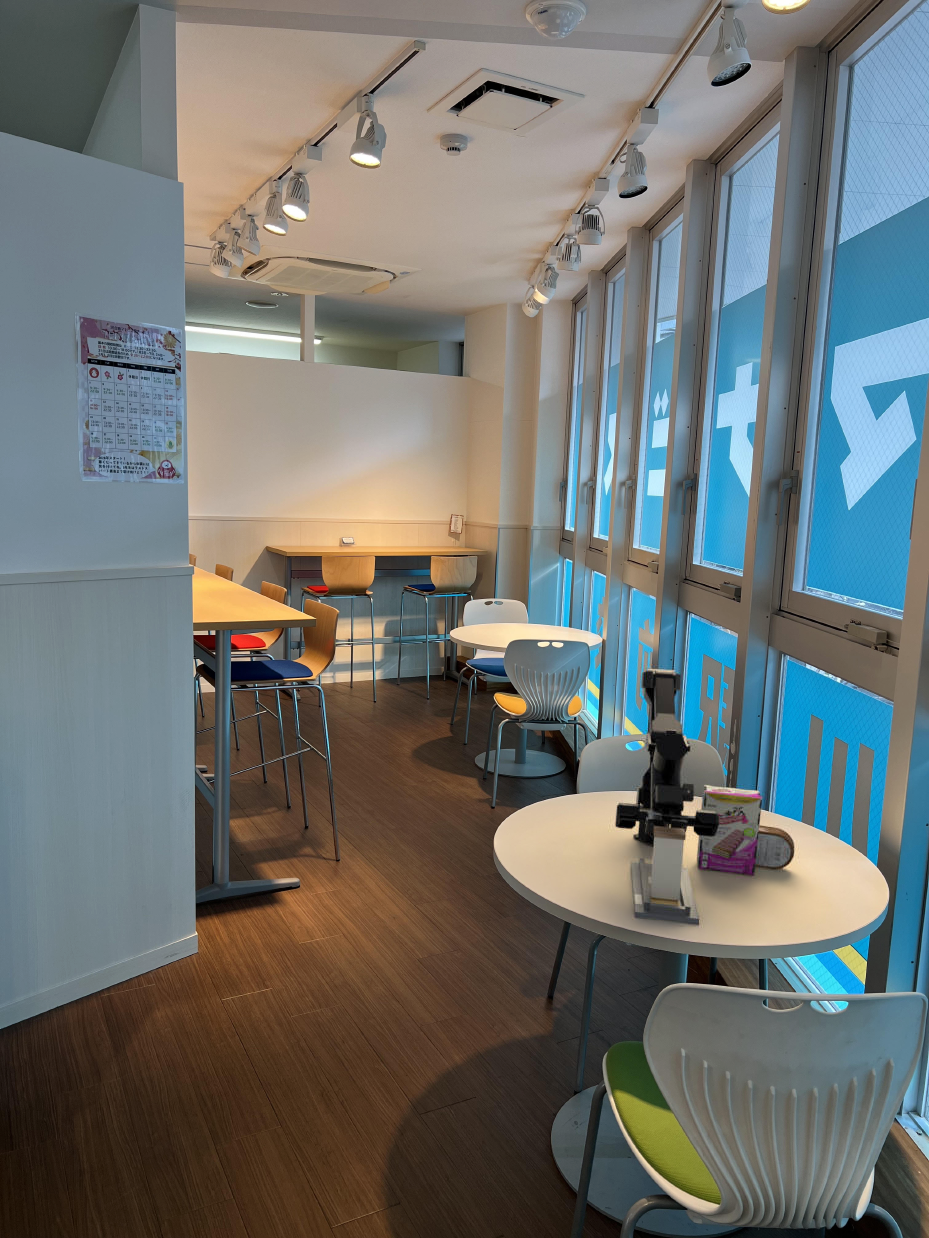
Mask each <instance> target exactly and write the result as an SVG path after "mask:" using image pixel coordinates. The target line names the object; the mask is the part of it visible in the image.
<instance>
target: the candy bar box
mask: <svg viewBox="0 0 929 1238" xmlns="http://www.w3.org/2000/svg"><path fill="white" fill-rule="evenodd" d="M762 805H763V798H762V796H761V793H760V791H758V790H752V789H745V788H734V787H726V786H725V787H724V786H715V785H709V784H704V785H703V788H702V801H701V807H700V808H701V809H700V810H707V811H715V812H716V813H717V814H718V816H719V826H718V829H717V832H716V835H715V836H713V837H709V836H699V835H698V841H697V850H696V851H697V852H696V862H697V868H698V870H704V871H712V872H722V873H729V874H738V875H744V876H755V871H756V866H755V864H756V854H757V845H758V834H759V825H761V824H760V822H761V813H762Z"/></svg>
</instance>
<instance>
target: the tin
mask: <svg viewBox="0 0 929 1238" xmlns="http://www.w3.org/2000/svg"><path fill="white" fill-rule="evenodd" d="M794 856H795V843H794V840H793V838H792V837H791V835H790V834H789V833H788V832H787V831H785V830H784V829H782V828H779V827H774V826H767V825H761V824H759V834H758V845H757V854H756V864H755V868H756V867H757V868H763V869H769V870H781V869H783V868H786V867H788V866H789V864H790V863H792V862H793V859H794Z"/></svg>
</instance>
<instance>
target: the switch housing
mask: <svg viewBox="0 0 929 1238" xmlns="http://www.w3.org/2000/svg"><path fill="white" fill-rule="evenodd" d="M645 860H646V858H645V857H638V862H636V861H635V862H634V861H631V862H630V874H631V876H630V877H631V885H632V886H631V887H632V898H633V913H634V918H640V919H649V920H656V921H657V920H658V921H666V922H675V923H682V924H683V923H685V924H693V925H694V924H695V925H700V916H699V915H700V914H699V911H698V907H697V904H696V899H695V896H694V894H695V893H694V891H693V886H692V882H691V879H690V875H689V869H688V867H686V866H682V872H681V885H680V898H679V900H670V899H660V898H651V893H650V889H651V876H652V863H646V861H645Z"/></svg>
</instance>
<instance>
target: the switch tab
mask: <svg viewBox="0 0 929 1238" xmlns="http://www.w3.org/2000/svg"><path fill="white" fill-rule="evenodd" d="M686 835H687V834H686V833H685V830H684V829H680V828H670V827H659V826H654V846H653V850H652V861H651V862H652V863H651V864H652V876H651V889H650V893H651V898H660V899H670V900H679V898H680V885H681V872H682V867H683V860H684V859H683V857H684V846H685V843H684V842H685V841H686Z"/></svg>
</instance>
